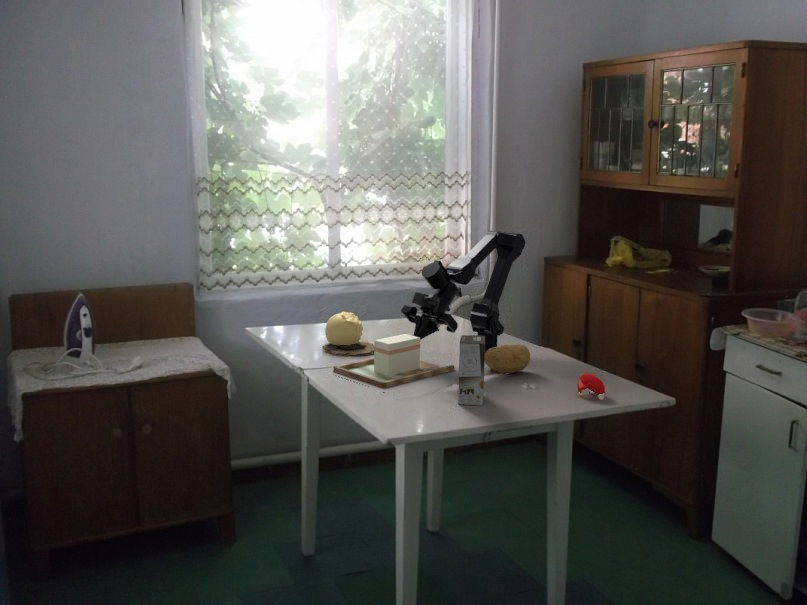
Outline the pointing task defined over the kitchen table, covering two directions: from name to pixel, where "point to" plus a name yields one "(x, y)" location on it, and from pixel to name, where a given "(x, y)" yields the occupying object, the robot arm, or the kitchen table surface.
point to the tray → (367, 374)
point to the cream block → (396, 354)
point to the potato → (507, 358)
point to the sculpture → (343, 329)
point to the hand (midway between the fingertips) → (413, 341)
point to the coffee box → (471, 369)
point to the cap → (590, 384)
